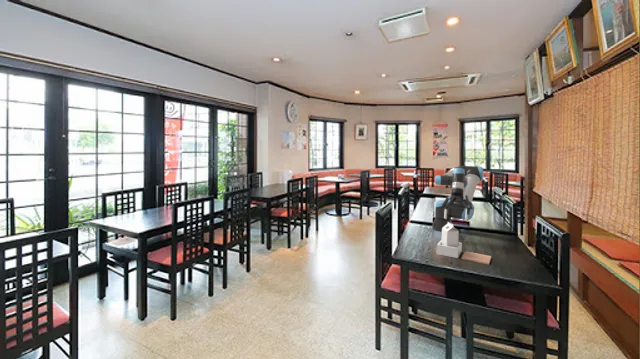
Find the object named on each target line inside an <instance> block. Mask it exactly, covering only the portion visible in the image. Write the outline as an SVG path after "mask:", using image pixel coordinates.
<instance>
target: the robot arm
mask: <svg viewBox="0 0 640 359" xmlns="http://www.w3.org/2000/svg"><path fill="white" fill-rule="evenodd" d="M481 181H484V168H483V166H479V165H477V166H476V165H474V166H473V165H459V166H454V167H452V168H450V170H449V171H447V172H446V173H444V174H442V175H439V174H437V175H436V176H434V184H435V185H437V186H447V187H451V192H450V193H451V194H450V195H446V196H445V199H443V200H437V201H436V202H435V212H434V216H435V217H434V221H433V223H432V225H431V226H432V230H435V231H437V232H442V228H443V227H444V226H445V225H446V224H448V222H449V223H451V224H453V223H452V218H453V219H459V220H463V221H464V220H465V221H466V220H467V221H469V220H471V219H472V218H473V216H474V213H475V206H474V204H473V202H472V201H473V198H474V195H475V192H476V189H477V185H478V184H479V183H480V182H481Z"/></svg>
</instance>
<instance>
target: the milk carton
mask: <svg viewBox="0 0 640 359" xmlns="http://www.w3.org/2000/svg"><path fill="white" fill-rule="evenodd" d="M459 233H460V231H459V230H458V229H457V228H455V227H454V224H453V223H452V224H451V223H449V222H448V224H446V225H445V226H444V227H443V228H442V231H441V239H442V240H441V239H440V240H441V245H445V246H450V247H456V248H457V247H458V242H459Z"/></svg>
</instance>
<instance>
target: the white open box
mask: <svg viewBox="0 0 640 359" xmlns="http://www.w3.org/2000/svg"><path fill="white" fill-rule="evenodd" d="M441 240H442V238H441V239H440V240H439V241H438V243H437V244H436V255H440V256H445V257H451V258H455V259H459V257H460V255H461V254H462V249H463V248H462V247H463V243H462V242H460V241H458V247H457V248H456V247H450V246H445V245H441Z"/></svg>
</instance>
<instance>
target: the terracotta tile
mask: <svg viewBox="0 0 640 359" xmlns="http://www.w3.org/2000/svg"><path fill="white" fill-rule="evenodd" d="M491 259H492V255H487V254H482V253H476V252H471V251H464V252H463V254H462V256H461V260H463V261H469V262H473V263H480V264H484V265H490V262H491Z"/></svg>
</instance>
